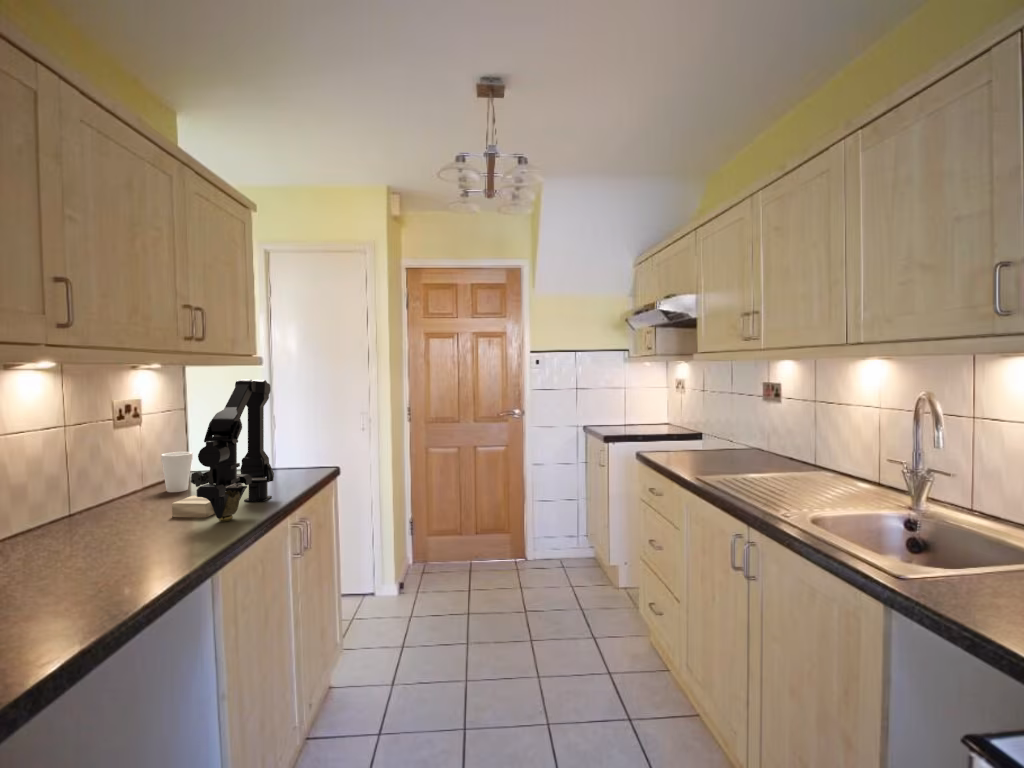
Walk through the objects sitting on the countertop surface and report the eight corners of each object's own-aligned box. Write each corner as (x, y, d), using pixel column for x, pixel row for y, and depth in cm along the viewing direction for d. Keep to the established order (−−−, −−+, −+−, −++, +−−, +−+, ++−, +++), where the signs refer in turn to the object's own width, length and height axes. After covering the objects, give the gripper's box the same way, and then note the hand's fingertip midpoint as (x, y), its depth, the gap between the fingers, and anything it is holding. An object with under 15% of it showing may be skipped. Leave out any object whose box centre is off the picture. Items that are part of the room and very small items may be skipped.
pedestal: (193, 508, 169) (192, 495, 168) (224, 508, 168) (224, 495, 168) (172, 516, 159) (172, 503, 158) (205, 517, 158) (205, 503, 158)
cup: (218, 526, 150) (218, 497, 150) (206, 521, 154) (206, 493, 154) (245, 520, 156) (245, 492, 156) (232, 515, 160) (232, 488, 160)
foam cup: (198, 488, 196) (198, 452, 196) (176, 494, 187) (176, 456, 187) (177, 486, 199) (177, 451, 198) (155, 492, 190) (154, 455, 189)
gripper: (216, 455, 164) (216, 506, 165) (176, 466, 146) (177, 524, 146) (252, 455, 164) (252, 507, 164) (217, 466, 145) (218, 524, 146)
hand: (225, 515), depth 155 cm, fingers closed on cup, 6 cm apart
